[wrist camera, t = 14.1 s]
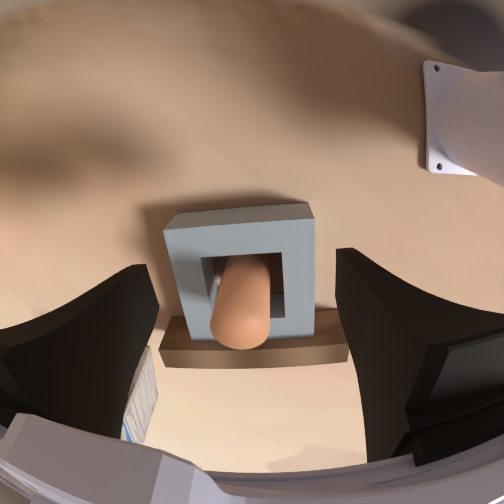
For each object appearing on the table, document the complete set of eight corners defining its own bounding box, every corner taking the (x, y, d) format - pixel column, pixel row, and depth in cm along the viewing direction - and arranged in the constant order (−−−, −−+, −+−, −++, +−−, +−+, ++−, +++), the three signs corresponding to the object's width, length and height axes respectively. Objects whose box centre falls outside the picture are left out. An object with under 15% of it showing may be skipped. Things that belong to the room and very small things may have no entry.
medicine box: (111, 336, 27) (75, 403, 19) (152, 346, 27) (123, 419, 19) (124, 384, 30) (99, 444, 23) (159, 393, 30) (139, 457, 23)
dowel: (266, 242, 21) (265, 301, 15) (272, 281, 23) (272, 347, 16) (222, 247, 22) (203, 307, 15) (230, 285, 23) (217, 351, 17)
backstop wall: (340, 309, 23) (350, 343, 20) (338, 327, 24) (347, 361, 21) (171, 317, 25) (158, 349, 21) (177, 334, 26) (165, 367, 22)
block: (308, 202, 20) (314, 218, 17) (309, 311, 24) (313, 336, 21) (176, 213, 21) (163, 230, 18) (199, 316, 25) (192, 341, 22)
